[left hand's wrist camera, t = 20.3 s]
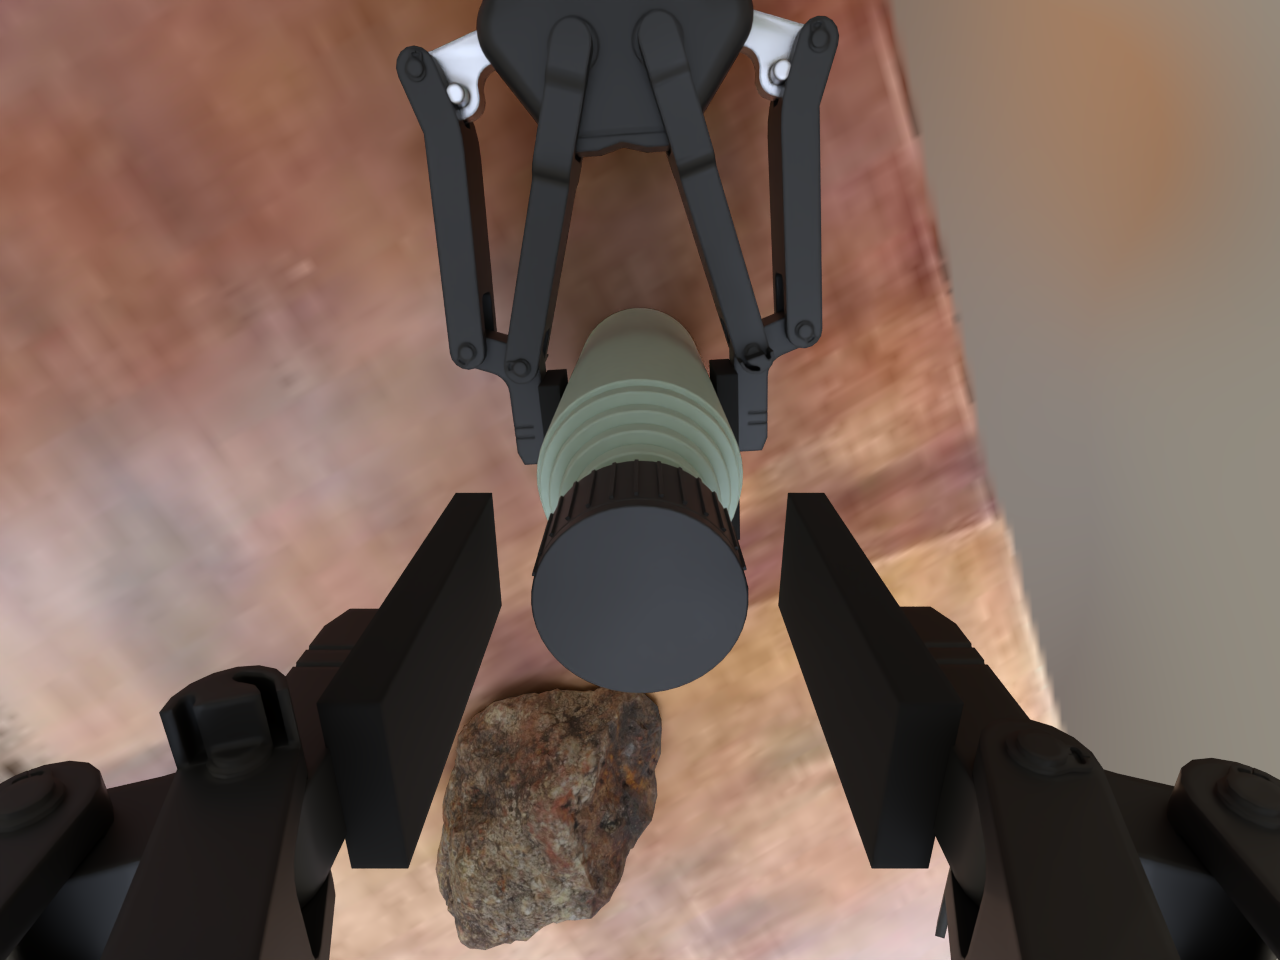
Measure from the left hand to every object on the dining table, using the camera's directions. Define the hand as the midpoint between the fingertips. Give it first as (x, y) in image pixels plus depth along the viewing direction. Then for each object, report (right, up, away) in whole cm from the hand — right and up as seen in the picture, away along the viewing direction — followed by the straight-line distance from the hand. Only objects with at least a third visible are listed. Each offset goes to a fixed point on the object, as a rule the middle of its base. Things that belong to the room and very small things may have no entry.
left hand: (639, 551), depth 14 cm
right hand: (0, 0, +13) cm, 13 cm away
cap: (0, -1, -2) cm, 2 cm away
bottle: (0, +7, +17) cm, 19 cm away
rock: (-5, -15, +26) cm, 30 cm away
